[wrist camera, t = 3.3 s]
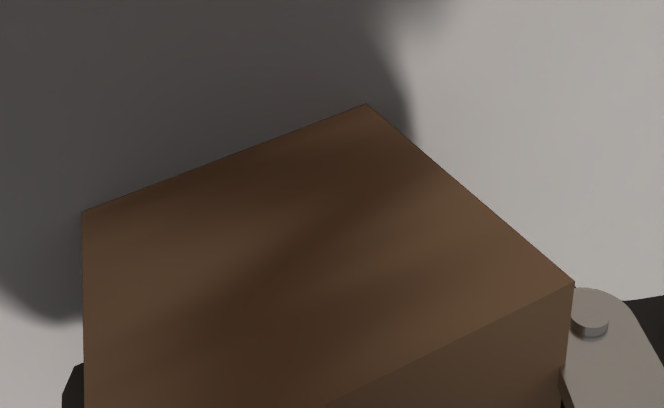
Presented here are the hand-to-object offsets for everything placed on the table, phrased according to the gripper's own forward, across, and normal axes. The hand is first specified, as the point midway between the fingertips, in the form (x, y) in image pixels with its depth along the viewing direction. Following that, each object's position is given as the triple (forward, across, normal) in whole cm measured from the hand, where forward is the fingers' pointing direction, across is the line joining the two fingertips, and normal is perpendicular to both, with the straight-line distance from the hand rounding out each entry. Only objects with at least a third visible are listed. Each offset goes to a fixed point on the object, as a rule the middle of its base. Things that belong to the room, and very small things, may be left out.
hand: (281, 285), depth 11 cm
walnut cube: (+1, 0, 0) cm, 1 cm away
